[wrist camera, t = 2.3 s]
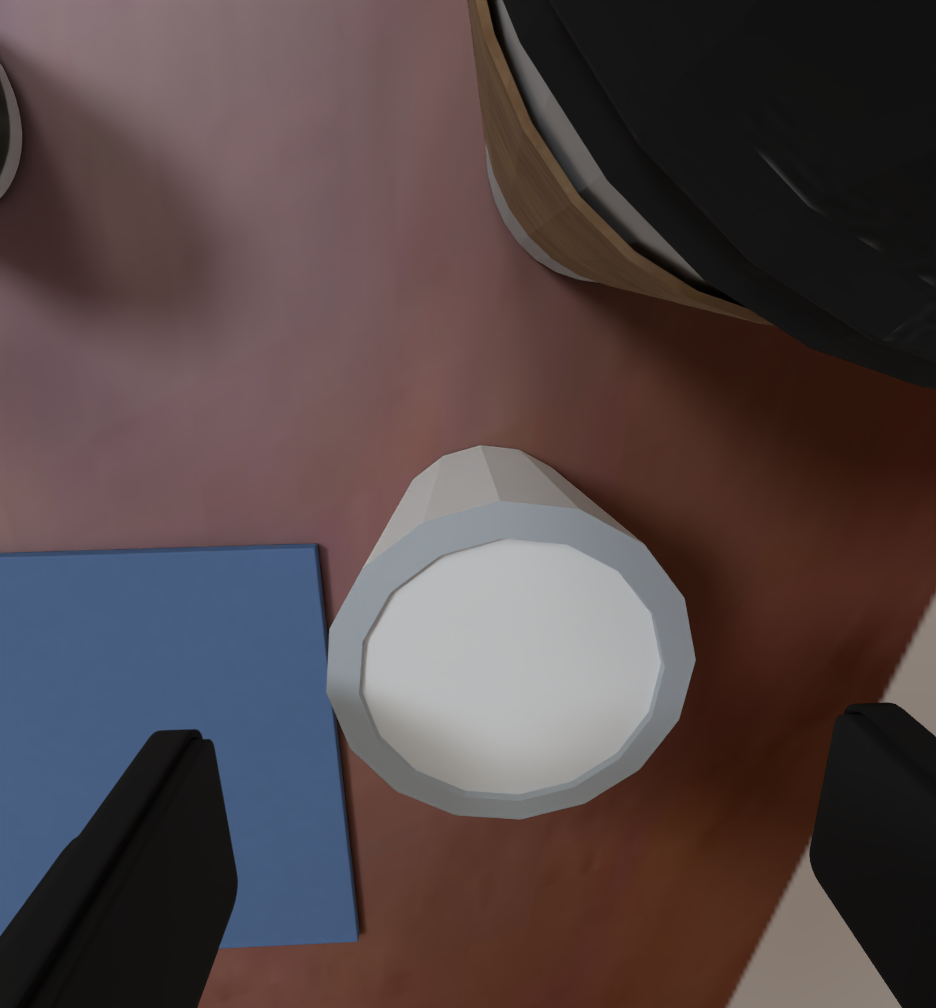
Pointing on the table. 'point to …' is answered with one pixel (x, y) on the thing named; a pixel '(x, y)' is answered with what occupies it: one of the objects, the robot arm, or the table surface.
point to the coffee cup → (727, 158)
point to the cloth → (178, 716)
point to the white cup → (507, 643)
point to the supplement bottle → (8, 133)
